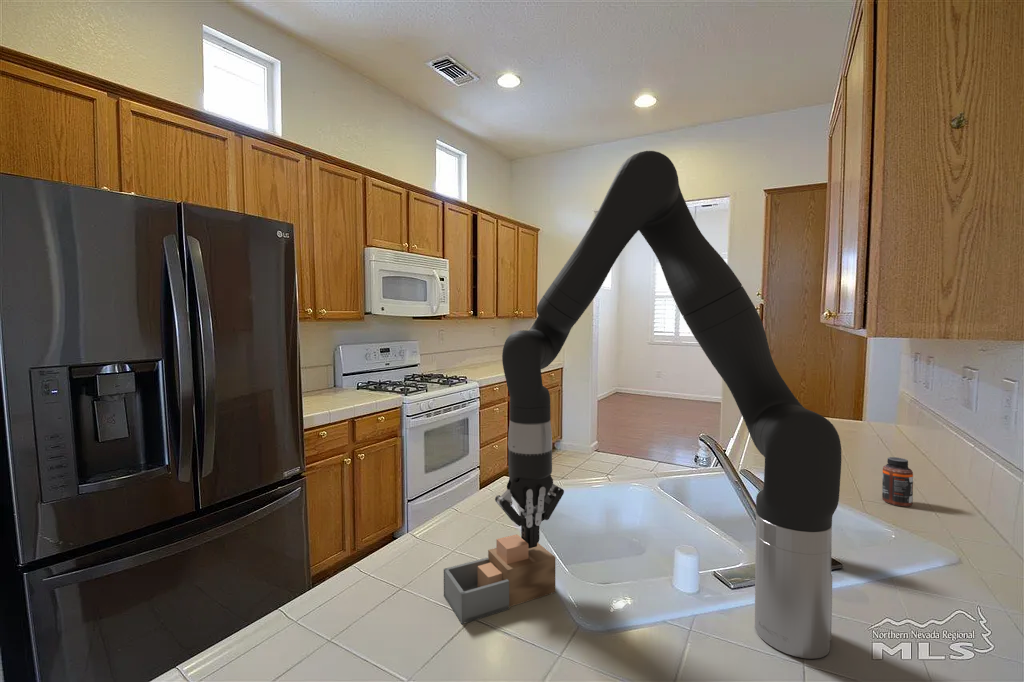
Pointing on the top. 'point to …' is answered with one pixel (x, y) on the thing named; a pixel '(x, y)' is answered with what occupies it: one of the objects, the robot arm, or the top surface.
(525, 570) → the brown block
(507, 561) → the tile
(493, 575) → the tile
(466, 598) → the tray
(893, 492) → the supplement bottle
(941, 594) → the top surface
